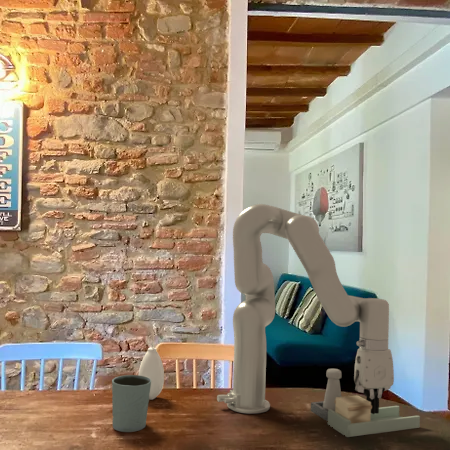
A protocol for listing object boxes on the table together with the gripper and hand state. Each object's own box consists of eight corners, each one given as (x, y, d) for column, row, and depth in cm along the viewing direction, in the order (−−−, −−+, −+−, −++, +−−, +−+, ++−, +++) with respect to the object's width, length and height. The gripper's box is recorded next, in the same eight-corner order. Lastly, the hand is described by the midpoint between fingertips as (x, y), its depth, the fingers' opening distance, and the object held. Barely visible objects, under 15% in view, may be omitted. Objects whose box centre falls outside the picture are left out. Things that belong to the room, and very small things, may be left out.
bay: (346, 437, 133) (347, 421, 133) (327, 424, 142) (328, 409, 142) (419, 427, 142) (419, 412, 142) (397, 416, 150) (397, 402, 150)
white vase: (141, 393, 163) (143, 336, 163) (166, 395, 162) (168, 337, 162) (134, 401, 155) (136, 341, 156) (159, 403, 154) (161, 342, 155)
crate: (348, 432, 135) (349, 405, 135) (333, 422, 141) (334, 397, 141) (371, 429, 137) (372, 402, 138) (356, 420, 144) (356, 394, 144)
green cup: (107, 421, 139) (108, 376, 139) (144, 417, 143) (145, 373, 143) (114, 435, 130) (116, 387, 130) (154, 430, 134) (155, 383, 134)
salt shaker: (343, 419, 146) (344, 373, 146) (322, 417, 147) (323, 371, 147) (342, 412, 152) (344, 367, 152) (322, 410, 153) (324, 366, 153)
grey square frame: (328, 422, 143) (328, 413, 143) (310, 411, 152) (311, 402, 152) (357, 419, 147) (357, 410, 147) (338, 408, 156) (338, 399, 156)
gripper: (358, 348, 136) (357, 419, 135) (405, 345, 141) (404, 413, 141) (342, 342, 143) (341, 410, 142) (387, 340, 148) (386, 405, 148)
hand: (372, 411), depth 142 cm, fingers closed
